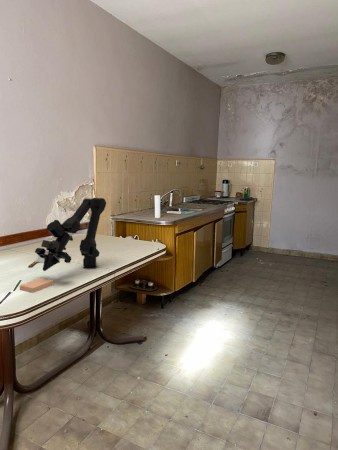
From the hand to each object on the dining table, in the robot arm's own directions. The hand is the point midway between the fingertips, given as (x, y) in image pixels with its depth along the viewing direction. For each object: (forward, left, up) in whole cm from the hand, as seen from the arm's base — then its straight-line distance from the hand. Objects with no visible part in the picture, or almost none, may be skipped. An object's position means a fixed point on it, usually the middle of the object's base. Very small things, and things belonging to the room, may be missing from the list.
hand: (43, 270), depth 151 cm
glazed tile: (-1, -2, -6) cm, 6 cm away
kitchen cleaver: (+13, -39, -7) cm, 42 cm away
